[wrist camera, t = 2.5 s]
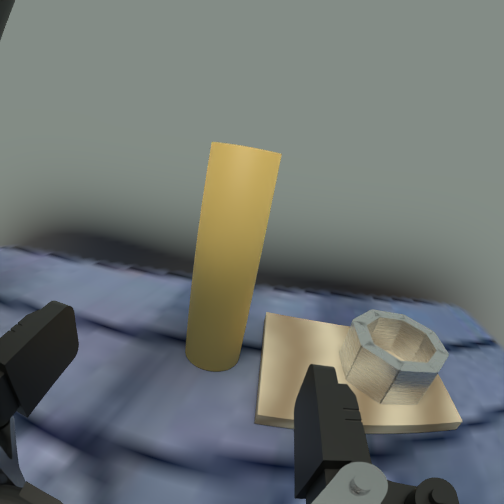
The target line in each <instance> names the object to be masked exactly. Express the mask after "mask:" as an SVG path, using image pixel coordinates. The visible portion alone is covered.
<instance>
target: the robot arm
mask: <svg viewBox="0 0 504 504" xmlns="http://www.w3.org/2000/svg"><path fill="white" fill-rule="evenodd" d="M14 2H15V0H0V40H1V37H2V34H3V31H4V28H5V25H6V23H7V20H8V18H9V15H10V12H11V10H12V7H13V4H14ZM78 346H79V342H78V335H77V329H76V322H75V315H74V310H73V308H72V307H71V306H68V305H65V304H63V303H60V302H57V301H51V302H49V303H48V304H47V305H46V306H45V307H43V308H42V309H41V310H37V311H35V312H33V313H30V314H28V315H26V316H25V317H24V318H23V319H22V320H21V321H19V322H18V325H17V324H16V325H15V326H13V327H12V328H11V331H8V332H7V333H5V334H4V335H3V336H2V337H1V338H0V504H63V503H62V502H61V501H59V500H58V499H56V498H54V497H52V496H50V495H49V494H47V493H45V492H43V491H42V490H40V489H38V488H37V487H35V486H33V485H32V484H30V483H28V482H27V481H26V482H25V480H24V477H23V475H22V473H21V471H20V468H19V464H18V456H17V446H16V435H15V421H14V417H13V414H14V413H15V412H16V411H17V412H19V413H20V414H22V415H24V416H25V417H27V418H28V416H29V415H30V414H31V412H32V411H33V410H34V408H35V407H36V406H37V405H38V403H39V402H40V401H41V399H42V398H43V397H44V395H45V394H46V393H47V392H48V390H49V389H50V388H51V387H52V385H53V384H54V383H55V381H56V380H57V379H58V378H59V376H60V375H61V374H62V373H63V372H64V370H65V369H66V368H67V367H68V365H69V364H70V363H71V362H72V361H73V359H74V358H75V356H76V354H77V351H78ZM361 420H362V418H361V414H360V412H359V406H358V402H357V397H356V395H355V394H354V392H353V391H352V390H351V388H350V387H349V386H348V384H340V383H338V379H337V375H336V370H335V368H334V367H332V366H323V365H316V364H310V366H309V367H308V370H307V372H306V375H305V377H304V380H303V383H302V385H301V388H300V390H299V393H298V395H297V398H296V402H295V407H294V460H295V498H299V499H306V504H459V501H458V497H457V494H456V491H455V489H454V487H453V486H452V485H451V484H450V483H449V482H447V481H446V480H444V479H441V478H429V479H426V480H424V481H423V482H422V483H421V484H420V485H418V486H417V487H416V486H411V485H405V484H400V483H395V482H392V481H389V480H387V479H386V477H385V475H384V473H383V472H382V471H381V470H380V469H379V468H377V467H376V466H374V465H372V463H371V459H370V454H369V450H368V445H367V440H366V436H365V431H364V427H363V423H362V422H361Z"/></svg>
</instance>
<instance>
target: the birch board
mask: <svg viewBox="0 0 504 504" xmlns="http://www.w3.org/2000/svg"><path fill="white" fill-rule="evenodd" d="M349 328H350V327H348V326H342V325H336V324H330V323H324V322H318V321H312V320H306V319H300V318H295V317H289V316H284V315H279V314H273V313H268V312H266V316H265V320H264V331H263V342H262V353H261V363H260V374H259V384H258V394H257V404H256V413H255V424H262V425H269V426H276V427H283V428H292V429H294V407H295V402H296V398H297V395H298V393H299V390H300V388H301V385H302V383H303V380H304V377H305V375H306V372H307V370H308V367H309V366H310V364H316V365H323V366H332V367H334V368H335V370H336V375H337V379H338V383H340V384H348V386H349V387H350V388H351V390H352V391H353V392H354V394H355V395H356V397H357V402H358V406H359V412H360V414H361V418H362V420H361V422H362V423H363V427H364V431H365V433H367V434H390V433H418V432H433V431H444V430H454V429H457V428H458V426H459V425H460V424H461V423H462V419H461V417H460V415H459V413H458V411H457V409H456V407H455V405H454V403H453V401H452V399H451V397H450V396H449V394H448V392H447V390H446V388H445V386H444V384H443V382H442V380H441V379H440V377H439V375H438V374H437V376H436V378H435V379H434V381H433V382H432V384H431V385H430V387H429V388H428V390H427V391H426V393H425V394H424V396H423V397H422V399H421V400H420V401H419V403H418V404H416V405H389V404H380V403H377V402H376V401H374V400H373V399H372V398H370V397H369V396H367V395H366V394H364V393H363V392H362V391H360V390H359V389H357V388H356V387H354V386H353V385H352V384H350V383H349V382H347V381H346V379H345V377H344V373H343V368H342V364H341V360H340V355H339V352H340V350H341V347H342V345H343V343H344V340H345V338H346V335H347V333H348V331H349ZM385 351H386V352H388V353H390V354H391V355H393V356H394V357H396V358H398V359H399V360H401V361H405V360H404V359H402V358H400V357H399V356H397V355H396V354H394V353H392V352H391V351H388V350H385Z"/></svg>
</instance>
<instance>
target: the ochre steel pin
mask: <svg viewBox="0 0 504 504" xmlns="http://www.w3.org/2000/svg"><path fill="white" fill-rule="evenodd" d="M280 160H281V154H279V153H276V152H272V151H267V150H262V149H257V148H252V147H246V146H240V145H234V144H226V143H219V142H212V144H211V150H210V156H209V162H208V168H207V175H206V181H205V187H204V194H203V201H202V207H201V215H200V222H199V229H198V237H197V244H196V253H195V261H194V269H193V277H192V286H191V296H190V305H189V316H188V326H187V338H186V350H185V353H186V356H187V358H188V360H189V361H190V362H191V363H192V364H194V365H195V366H197V367H199V368H201V369H204V370H207V371H225V370H228V369H230V368H232V367H234V366H235V365H236V364H237V362H238V360H239V355H240V351H241V346H242V341H243V337H244V332H245V328H246V323H247V318H248V314H249V309H250V304H251V300H252V295H253V290H254V285H255V281H256V276H257V271H258V267H259V261H260V257H261V252H262V247H263V243H264V238H265V233H266V228H267V223H268V218H269V214H270V209H271V204H272V199H273V194H274V189H275V184H276V179H277V175H278V170H279V164H280Z"/></svg>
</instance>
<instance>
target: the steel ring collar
mask: <svg viewBox="0 0 504 504" xmlns="http://www.w3.org/2000/svg"><path fill="white" fill-rule="evenodd" d="M385 350H388V351H391V352H392V353H394V354H396V355H397V356H399V357H400V358H402V359H404V360H405V361H401V360H399V359H398V358H396V357H394V356H393V355H391V354H390V353H388V352H386V351H385ZM339 355H340V360H341V364H342V368H343V373H344V377H345V379H346V381H347V382H349V383H350V384H352V385H353V386H354V387H356V388H357V389H359V390H360V391H362V392H363V393H364V394H366V395H367V396H369V397H370V398H372V399H373V400H374V401H376V402H377V403H380V404H389V405H416V404H418V403H419V401H420V400H421V399H422V397H423V396H424V394H425V393H426V391H427V390H428V388H429V387H430V385H431V384H432V382H433V381H434V379H435V378H436V376H437V374H438V373H439V371H440V369H441V368H442V366H443V364H444V363H445V361H446V359H447V358H448V356H449V354H448V352H447V351H446V349H445V348H444V346H443V344H442V343H441V341H440V340H439V338H438V337H437V335H436V334H435V333H434V332H433V331H432V330H430V329H428V328H427V327H425V326H423V325H421V324H420V323H418V322H416V321H414V320H412V319H411V318H409V317H407V316H405V315H403V314H397V313H391V312H385V311H379V310H373V309H372V310H370V311H368V312H366V313H364V314H362V315H361V316H359V317H357V318H355V319H353V320H352V323H351V326H350V328H349V331H348V333H347V335H346V338H345V340H344V343H343V345H342V347H341V350H340V352H339Z"/></svg>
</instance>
